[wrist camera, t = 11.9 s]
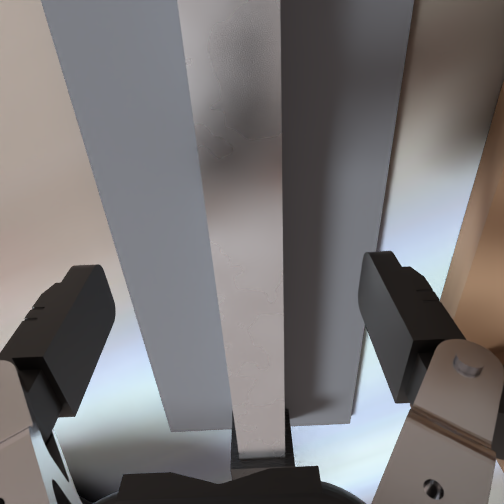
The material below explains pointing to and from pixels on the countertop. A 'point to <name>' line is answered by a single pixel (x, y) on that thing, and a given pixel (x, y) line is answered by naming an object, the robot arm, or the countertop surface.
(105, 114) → the grey long flat board
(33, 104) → the countertop surface
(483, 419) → the robot arm
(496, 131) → the walnut rack
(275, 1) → the steel rail
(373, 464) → the countertop surface
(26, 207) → the countertop surface
